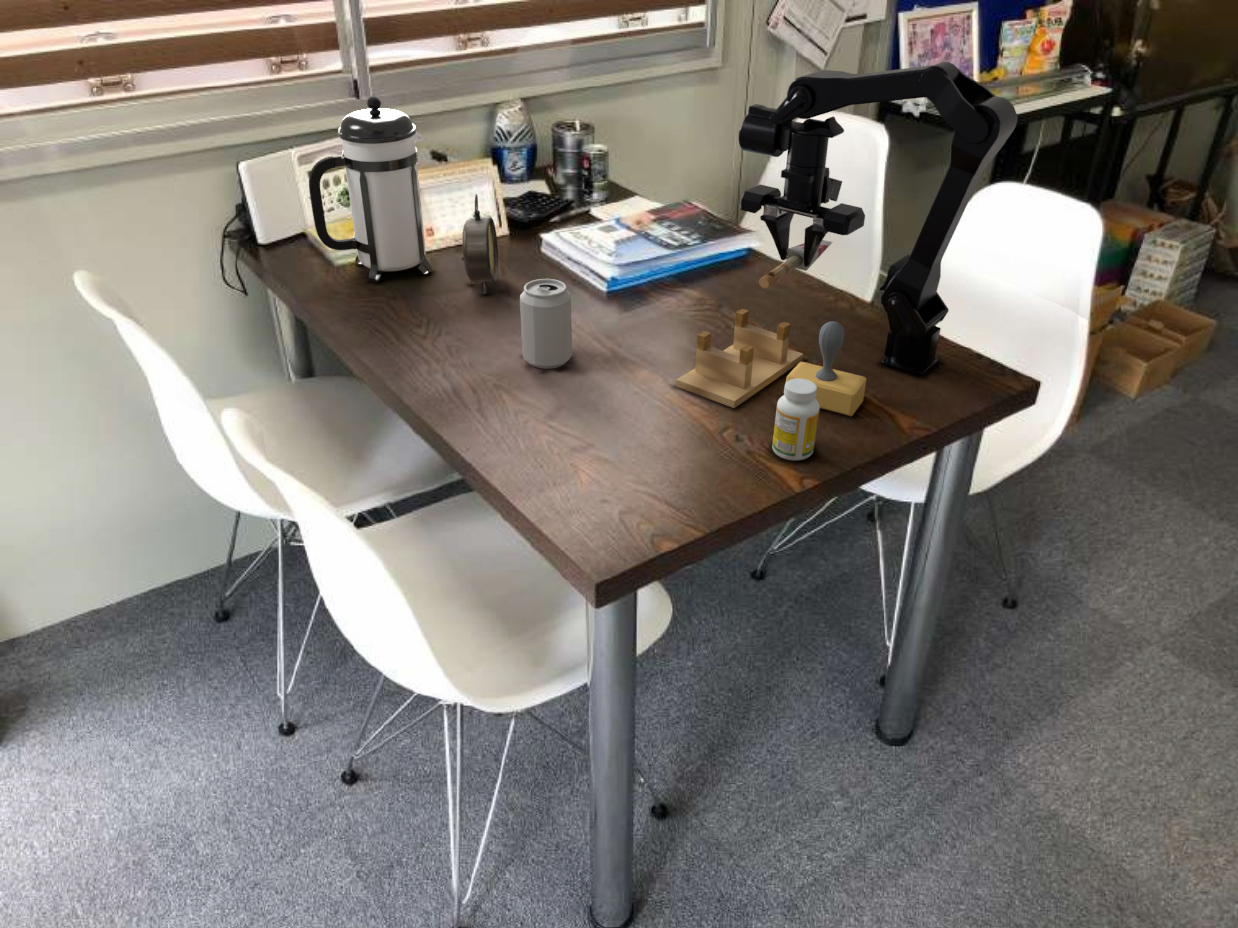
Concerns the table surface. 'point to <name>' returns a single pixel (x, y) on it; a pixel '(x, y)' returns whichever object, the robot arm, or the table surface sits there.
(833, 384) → the rubber stamp
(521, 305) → the can
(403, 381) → the table surface
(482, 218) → the alarm clock
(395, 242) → the coffee press
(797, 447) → the supplement bottle
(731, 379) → the brush rack
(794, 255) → the paintbrush
